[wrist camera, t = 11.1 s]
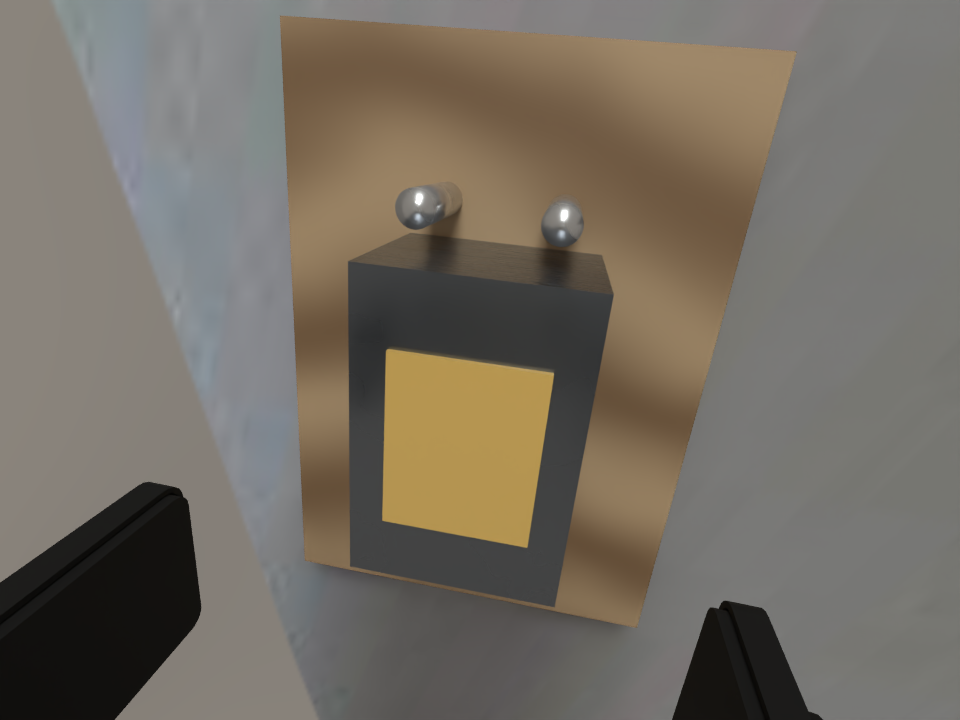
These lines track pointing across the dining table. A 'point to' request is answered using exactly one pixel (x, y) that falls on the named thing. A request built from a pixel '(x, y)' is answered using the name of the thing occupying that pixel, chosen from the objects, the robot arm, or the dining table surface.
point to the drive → (470, 409)
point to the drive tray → (530, 235)
